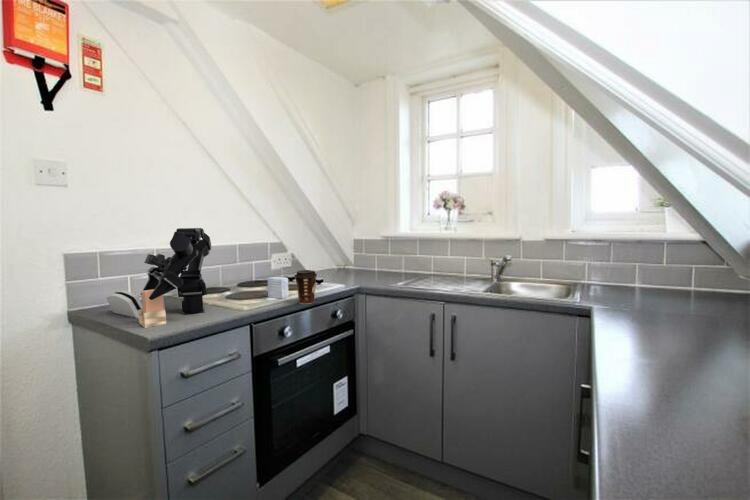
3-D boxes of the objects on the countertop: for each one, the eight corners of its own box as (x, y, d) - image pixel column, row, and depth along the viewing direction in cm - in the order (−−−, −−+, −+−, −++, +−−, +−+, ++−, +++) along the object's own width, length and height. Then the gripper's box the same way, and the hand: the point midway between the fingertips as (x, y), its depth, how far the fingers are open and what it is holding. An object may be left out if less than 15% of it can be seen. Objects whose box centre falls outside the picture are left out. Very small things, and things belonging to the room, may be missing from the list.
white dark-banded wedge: (152, 314, 130) (140, 290, 126) (139, 321, 126) (127, 297, 123) (127, 309, 138) (115, 286, 134) (114, 316, 134) (102, 293, 131)
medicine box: (288, 297, 156) (288, 277, 156) (282, 299, 152) (281, 279, 152) (274, 295, 160) (274, 276, 159) (267, 297, 156) (267, 278, 155)
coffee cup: (312, 299, 151) (312, 269, 150) (321, 303, 144) (320, 271, 143) (293, 302, 146) (292, 270, 145) (300, 306, 140) (299, 273, 138)
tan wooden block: (159, 319, 123) (158, 306, 123) (166, 323, 118) (165, 310, 118) (138, 323, 119) (137, 309, 118) (145, 327, 114) (144, 313, 113)
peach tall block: (161, 317, 122) (159, 288, 121) (165, 319, 119) (163, 289, 118) (143, 320, 118) (141, 290, 117) (147, 323, 115) (145, 292, 115)
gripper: (152, 243, 125) (116, 279, 118) (170, 246, 113) (131, 285, 106) (178, 263, 132) (145, 298, 125) (197, 268, 119) (162, 307, 112)
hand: (145, 297), depth 117 cm, fingers open, 9 cm apart
